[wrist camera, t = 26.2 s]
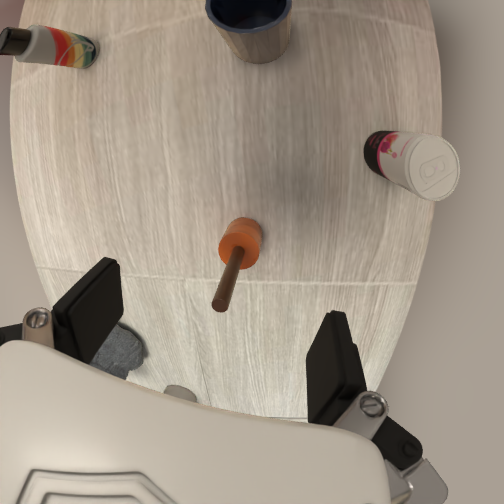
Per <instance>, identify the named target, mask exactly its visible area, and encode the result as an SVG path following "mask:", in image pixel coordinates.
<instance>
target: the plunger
mask: <svg viewBox="0 0 504 504" xmlns="http://www.w3.org/2000/svg"><path fill="white" fill-rule="evenodd" d="M261 242H262V230H261V228H260V226H259V225H258V223H257V222H255V221H254V220H252V219H250V218H238V219H236V220H234V221H232V222H231V223H230V225H229V226H228V228H227V230H226V232H225V234H224V236H223V237H222V239H221V241H220V243H219V248H218V251H219V256H220V258H221V260H222V261H223V262H224V263H225V264H226V268H225V270H224V273H223V275H222V278H221V280H220V283H219V285H218V288H217V291H216V293H215V296H214V298H213V301H212V308H213V309H214V310H215V311H217V312H225V311H227V309H228V307H229V303H230V300H231V297H232V293H233V290H234V287H235V283H236V280H237V277H238V273H239V270H241V269H247V268H249V267H251V266H252V265H254V264H255V263H256V261H257V259H258V257H259V252H260V247H261Z"/></svg>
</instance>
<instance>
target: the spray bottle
mask: <svg viewBox="0 0 504 504" xmlns="http://www.w3.org/2000/svg"><path fill="white" fill-rule="evenodd" d="M98 53H99V44H98V42H97V41H95V40H93V39H91V38H88V37H84V36H81V35H78V34H74V33H71V32H67V31H63V30H59V29H55V28H51V27H47V26H42V25H31V26H30V27H28V28H27V29H21V28H13V27H7V28H5V29H4V30H3V31H2V32H1V34H0V55H14V56H15V59H16V60H17V61H18V62H26V63H40V64H50V65H59V66H66V67H73V68H86V67H88V66H90V65H91V64H92V63H93V62H94V61H95V59H96V58H97V56H98Z"/></svg>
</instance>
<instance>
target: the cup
mask: <svg viewBox="0 0 504 504" xmlns="http://www.w3.org/2000/svg"><path fill="white" fill-rule="evenodd" d="M164 394H167V395H170V396H174V397H177V398H181V399H184V400H188V401H191V402H196V396H195V395H194V394H193V392H191V391H190V390H188V389H187V388H184V387H181V386H178V385H170V386H167V387H166V389H165V391H164Z"/></svg>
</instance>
